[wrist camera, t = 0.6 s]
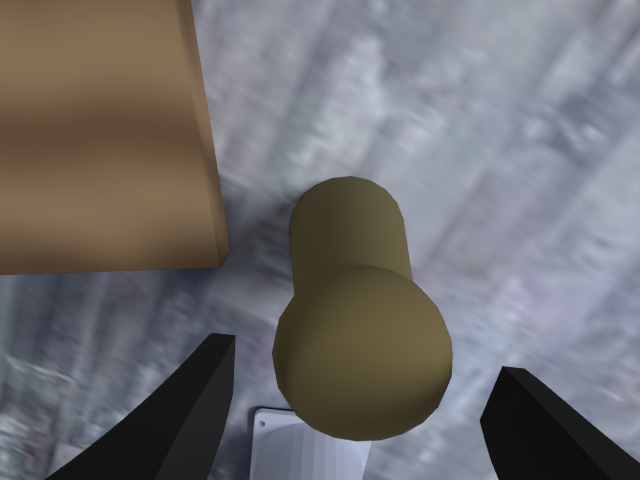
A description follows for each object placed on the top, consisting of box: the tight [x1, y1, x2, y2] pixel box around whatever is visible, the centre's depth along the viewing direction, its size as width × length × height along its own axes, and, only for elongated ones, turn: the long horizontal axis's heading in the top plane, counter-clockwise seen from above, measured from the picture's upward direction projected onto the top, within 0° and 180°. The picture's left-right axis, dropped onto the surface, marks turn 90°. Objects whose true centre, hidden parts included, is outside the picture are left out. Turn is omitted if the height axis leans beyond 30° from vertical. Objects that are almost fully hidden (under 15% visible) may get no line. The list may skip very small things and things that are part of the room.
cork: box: [272, 176, 453, 442], centre depth 14 cm, size 6×6×11 cm
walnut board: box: [0, 0, 230, 275], centre depth 17 cm, size 12×12×2 cm
